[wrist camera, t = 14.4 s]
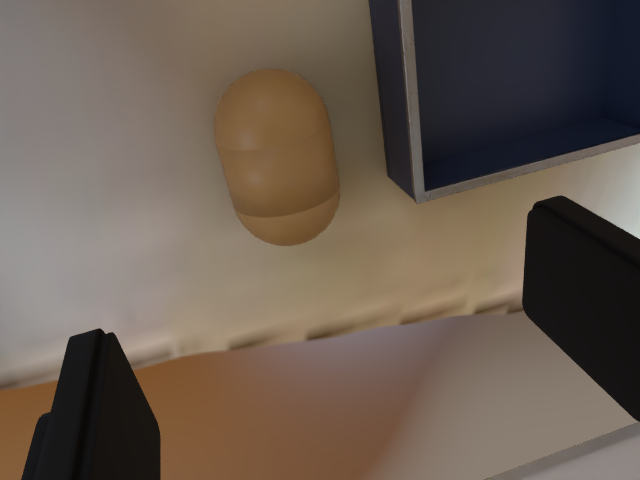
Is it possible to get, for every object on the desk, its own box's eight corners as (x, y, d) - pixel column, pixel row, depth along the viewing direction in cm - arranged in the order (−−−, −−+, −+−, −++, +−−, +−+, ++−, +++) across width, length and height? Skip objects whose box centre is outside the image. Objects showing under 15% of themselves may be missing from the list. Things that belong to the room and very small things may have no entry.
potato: (232, 237, 26) (266, 280, 22) (187, 78, 22) (218, 94, 18) (319, 205, 27) (366, 240, 23) (291, 52, 24) (341, 61, 19)
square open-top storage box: (386, 177, 27) (415, 204, 24) (355, -109, 21) (389, -126, 18) (602, 120, 29) (657, 138, 26) (633, -157, 23) (710, -181, 20)
